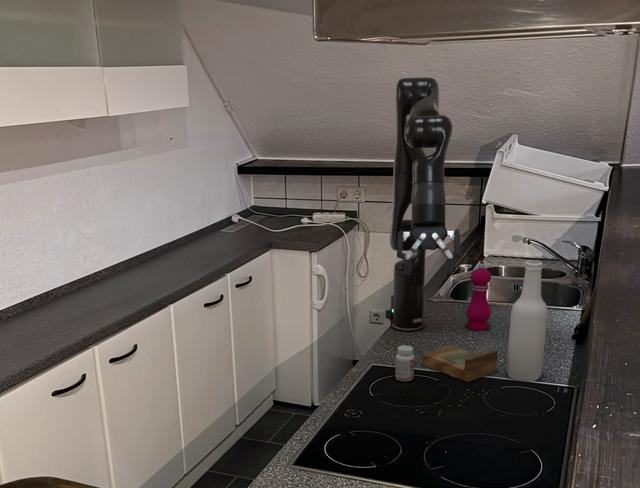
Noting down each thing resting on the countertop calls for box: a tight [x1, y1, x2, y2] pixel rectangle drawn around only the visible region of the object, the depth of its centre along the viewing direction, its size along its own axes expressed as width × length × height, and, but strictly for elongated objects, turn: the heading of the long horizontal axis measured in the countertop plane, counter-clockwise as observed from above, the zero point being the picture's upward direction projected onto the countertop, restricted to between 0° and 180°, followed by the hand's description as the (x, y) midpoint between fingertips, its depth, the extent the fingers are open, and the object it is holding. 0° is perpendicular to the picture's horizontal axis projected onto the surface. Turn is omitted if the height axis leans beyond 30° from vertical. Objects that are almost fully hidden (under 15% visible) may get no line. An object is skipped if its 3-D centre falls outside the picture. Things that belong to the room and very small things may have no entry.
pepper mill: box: [465, 263, 492, 331], centre depth 231 cm, size 7×7×20 cm
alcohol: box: [505, 260, 549, 382], centre depth 192 cm, size 9×9×30 cm
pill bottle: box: [394, 345, 415, 382], centre depth 197 cm, size 5×5×8 cm
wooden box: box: [422, 345, 499, 383], centre depth 202 cm, size 16×11×6 cm
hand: (428, 276), depth 173 cm, fingers open, 8 cm apart
